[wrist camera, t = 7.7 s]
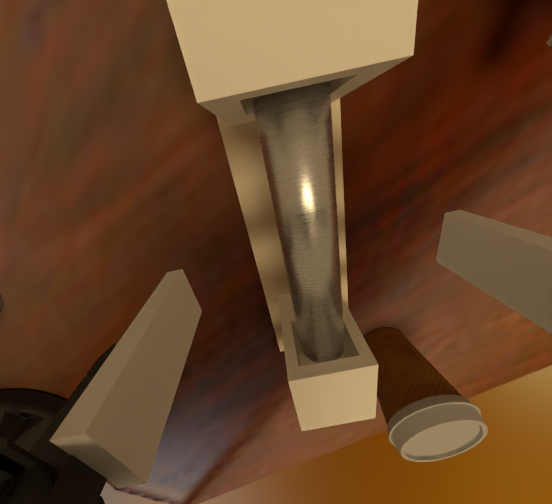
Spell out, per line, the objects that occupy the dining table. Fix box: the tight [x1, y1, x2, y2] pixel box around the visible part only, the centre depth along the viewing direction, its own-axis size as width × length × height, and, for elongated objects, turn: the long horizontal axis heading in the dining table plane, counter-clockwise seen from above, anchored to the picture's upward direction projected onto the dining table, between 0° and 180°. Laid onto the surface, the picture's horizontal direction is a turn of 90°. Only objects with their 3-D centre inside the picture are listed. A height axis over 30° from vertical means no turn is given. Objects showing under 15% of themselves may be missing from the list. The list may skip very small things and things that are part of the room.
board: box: [216, 98, 348, 352], centre depth 22 cm, size 37×10×1 cm, turn 11°
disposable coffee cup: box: [364, 328, 488, 462], centre depth 26 cm, size 10×10×12 cm
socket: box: [166, 0, 418, 126], centre depth 11 cm, size 7×8×11 cm
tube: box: [251, 81, 345, 363], centre depth 14 cm, size 24×4×4 cm, turn 11°
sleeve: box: [278, 293, 378, 431], centre depth 23 cm, size 8×7×11 cm
